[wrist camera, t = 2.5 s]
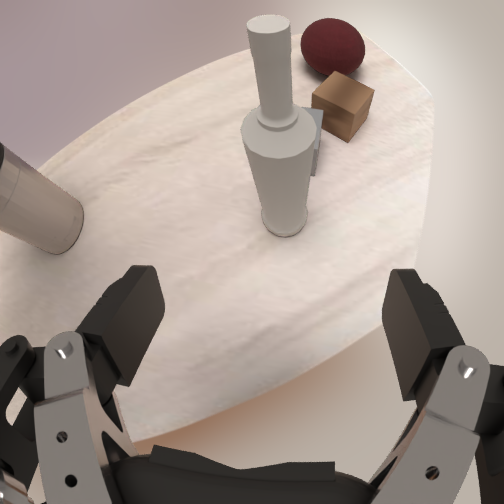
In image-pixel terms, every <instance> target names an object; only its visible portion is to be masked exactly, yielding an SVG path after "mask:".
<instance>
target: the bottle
mask: <svg viewBox="0 0 504 504" xmlns="http://www.w3.org/2000/svg"><path fill="white" fill-rule="evenodd" d="M246 27H247V32H248V38H249V43H250V49H251V54H252V57H253V60H254V67H255V73H256V79H257V86H258V92H259V99H260V105H259V106H258V107H257V108H255V109H253V110H252V111H251V112H250V113H249V114H248V115H247V116H246V117H245V118H244V120H243V123H242V126H241V129H240V130H241V135H242V140H243V143H244V147H245V150H246V154H247V157H248V160H249V164H250V167H251V171H252V174H253V178H254V181H255V185H256V188H257V192H258V195H259V199H260V202H261V206H262V211H261V214H262V219H263V223H264V224H265V226H266V227H267V228H268V230H269V231H270V232H272V233H274V234H275V235H277V236H283V237H287V236H292V235H294V234H296V233H297V232H299V231H300V230H301V229H302V227H303V226H304V224H305V223H306V218H307V208H306V202H307V195H308V188H309V182H310V175H311V168H312V160H313V153H314V145H315V137H316V129H317V127H316V124H315V122H314V119H313V117H312V116H311V115H310V114H309V113H308V112H307V111H306V110H305V109H304V108H302V107H299V106H297V105H295V104H294V103H293V102H292V75H291V33H290V22H289V20H288V19H287V18H285V17H283V16H278V15H261V16H257V17H255V18H252V19H251V20H249V21H248V23H247V24H246Z"/></svg>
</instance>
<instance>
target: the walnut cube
mask: <svg viewBox="0 0 504 504" xmlns="http://www.w3.org/2000/svg"><path fill="white" fill-rule="evenodd" d="M374 91H375V90H373V89H371V88H369V87H368V86H366V85H364V84H362V83H360V82H358V81H356V80H353V79H351V78H349V77H347V76H345V75H343V74H341V73H338V72H336V71H334V72H333V73H332V74H331V75H330V76H329V77H328V78H327V79H326V80H325V81H324V82H323V83H322V84H321V85H320V86H319V87H318V88H317V89H316V90H315V91H314V92H313V93H312V104H311V108H312V109H319V110H323V119H322V129H324V130H326V131H328V132H329V133H331V134H333V135H335V136H336V137H338V138H340V139H342V140H344V141H345V142H347V143H348V142H349V141H350V140H351V138H352V137H353V136H354V134H355V133H356V132H357V130H358V129H359V128H360V126H361V125H362V124H363V123H364V121H365V120H366V119H367V116H368V112H369V109H370V105H371V102H372V98H373V94H374Z"/></svg>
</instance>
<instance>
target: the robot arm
mask: <svg viewBox="0 0 504 504" xmlns="http://www.w3.org/2000/svg"><path fill="white" fill-rule="evenodd" d="M82 223H83V209H82V206H81V204H80V202H79V201H77V200H76V199H75V198H74V197H72V196H71V195H69V194H68V193H67V192H65V191H64V190H63V189H61V188H60V187H58V186H57V185H56V184H54V183H53V182H52V181H50V180H49V179H47V178H46V177H45V176H43V175H42V174H41V173H39V172H38V171H37V170H35V169H34V168H33V167H31V166H30V165H29V164H27V163H26V162H25V161H23V160H22V159H21V158H20V157H18V156H17V155H15V154H14V153H13V152H12V151H10V150H9V149H8V148H7V147H5V146H4V145H2V143H0V230H1V231H3V232H5V233H7V234H10V235H12V236H14V237H16V238H18V239H20V240H23V241H25V242H27V243H29V244H31V245H34V246H36V247H38V248H40V249H43V250H45V251H47V252H50V253H53V254H60V253H63V252H65V251H66V250H68V249H69V248H70V247H71V246H72V245H73V243H74V242H75V241H76V239H77V237H78V235H79V233H80V230H81V227H82ZM164 312H165V302H164V298H163V294H162V291H161V287H160V284H159V280H158V276H157V272H156V270H155V268H154V267H153V266H146V265H133V266H131V267H130V268H129V270H128V271H127V272H126V273H125V275H124V276H123V277H122V278H120V279H118V280H117V281H116V282H114V283H113V284H111V285H110V286H109V287H108V288H107V289H106V291H105V292H104V293H103V295H102V298H101V297H100V298H99V300H98V301H97V302H96V305H94V306H93V308H92V309H91V310H90V312H89V313H88V314H87V316H86V317H85V318H84V320H83V321H82V322H81V324H80V325H79V326H78V328H77V329H76V331H75V332H73V331H68V332H63V333H60V334H58V335H56V336H55V337H54V338H52V339H51V340H50V341H49V342H48V344H47V346H46V347H33V348H32V347H31V345H30V343H29V342H28V340H27V339H26V337H24V336H22V335H16V336H13V337H11V338H9V339H7V340H6V341H5V342H4V343H3V344H2V345H1V346H0V504H34V501H33V500H32V498H30V497H29V496H28V494H27V492H28V489H29V486H30V484H31V481H32V478H33V475H34V473H35V470H36V468H37V465H38V463H39V466H40V472H41V478H42V483H43V488H44V493H45V497H46V502H44V503H42V504H453V502H454V500H455V498H456V496H457V494H458V492H459V490H460V488H461V485H462V483H463V481H464V479H465V477H466V474H467V472H468V470H469V467H470V465H471V462H472V460H473V457H474V454H475V459H476V465H477V471H478V479H479V487H480V496H481V504H504V366H499V365H492V364H489V362H488V360H487V358H486V357H485V355H484V354H483V353H482V352H481V351H479V350H478V349H476V348H474V347H471V346H467V345H465V343H464V340H463V338H462V336H461V334H460V332H459V330H458V329H457V326H456V325H455V323H454V321H453V319H452V317H451V315H450V314H449V311H448V310H447V308H446V306H445V305H444V302H443V301H442V299H441V297H440V295H439V293H438V292H437V291H436V290H434V289H433V288H432V287H431V286H430V285H429V284H427V283H426V284H423V283H422V281H421V279H420V278H419V276H418V274H417V272H416V271H415V269H393V270H392V271H391V273H390V277H389V281H388V286H387V290H386V294H385V299H384V303H383V307H382V322H383V326H384V329H385V333H386V336H387V339H388V343H389V347H390V350H391V354H392V358H393V361H394V365H395V369H396V373H397V377H398V381H399V385H400V389H401V394H402V398H403V401H410V400H416V404H417V408H416V409H415V411H414V412H413V414H412V416H411V418H410V420H409V421H408V424H407V425H406V427H405V429H404V430H403V432H402V434H401V435H400V437H399V439H398V441H397V442H396V444H395V446H394V447H393V449H392V450H391V452H390V453H389V455H388V456H387V458H386V459H385V461H384V462H383V463H382V465H381V466H380V467H379V468H378V470H377V471H376V472H375V474H374V475H373V476H372V478H371V479H370V480H369V482H368V483H367V482H365V481H363V480H361V479H359V478H357V477H354V476H352V475H348V474H345V473H341V472H336V471H335V462H287V463H282V464H276V465H270V466H264V467H257V468H251V469H241V470H240V469H235V468H231V467H229V466H226V465H223V464H221V463H218V462H215V461H213V460H210V459H208V458H205V457H203V456H200V455H198V454H196V453H191V452H186V451H181V450H176V449H171V448H167V447H162V446H158V445H154V446H153V449H152V452H151V454H146V455H139V453H138V452H137V450H136V448H135V447H134V445H133V443H132V441H131V439H130V437H129V434H128V432H127V429H126V426H125V423H124V419H123V416H122V413H121V410H120V406H119V403H118V400H117V396H116V394H115V392H114V388H115V386H116V384H119V385H123V386H127V387H129V386H130V384H131V382H132V380H133V378H134V376H135V374H136V372H137V369H138V367H139V365H140V363H141V361H142V359H143V357H144V355H145V353H146V351H147V349H148V347H149V345H150V343H151V341H152V339H153V337H154V335H155V333H156V331H157V329H158V327H159V325H160V323H161V321H162V319H163V316H164ZM18 387H19V388H20V389H21V391H22V392H23V393H24V394H25V395H26V396H27V399H26V401H25V403H24V405H23V407H22V408H21V410H20V412H19V414H18V416H17V418H16V420H15V422H14V424H13V426H11V425H10V424H9V423H8V421H7V419H6V409H7V407H8V405H9V403H10V401H11V399H12V398H13V396H14V394H15V392H16V391H17V389H18Z"/></svg>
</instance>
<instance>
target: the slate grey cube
mask: <svg viewBox="0 0 504 504" xmlns="http://www.w3.org/2000/svg"><path fill="white" fill-rule="evenodd" d="M302 108H304V109H305V110H306V111H307V112H308V113H309V114H310V115H311V116H312V117H313V119H314V122H315V124H316V127H317V129H316V137H315V145H314V153H313V160H312V168H311V175H310V176H315V170H316V163H317V157H318V150H319V144H320V136H321V128H322V119H323V110H319V109H312V108H306V107H302Z"/></svg>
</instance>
